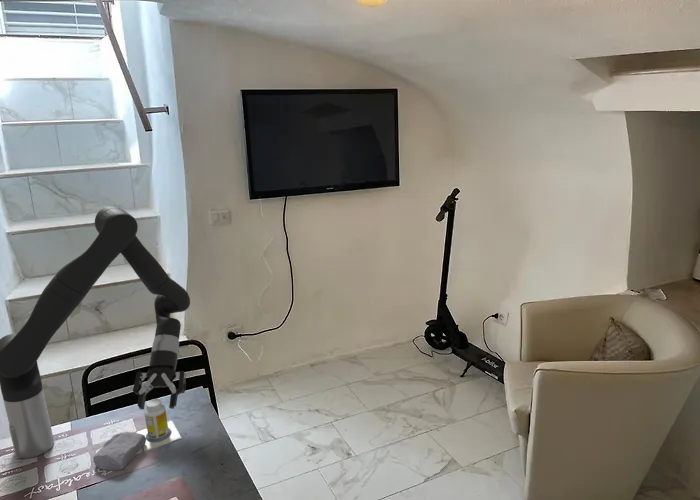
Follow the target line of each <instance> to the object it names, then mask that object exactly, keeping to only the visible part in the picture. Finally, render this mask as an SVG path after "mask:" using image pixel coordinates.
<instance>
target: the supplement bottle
mask: <svg viewBox="0 0 700 500" xmlns="http://www.w3.org/2000/svg"><path fill="white" fill-rule="evenodd" d="M145 406H146V408H145V410H144V418H145V425H146V429H147V432H148V436H149V437H150V438H152V439H159V438H162V437H164V436H165V435H166V434H167V433H168V423H167V422H168V418H167V412H166V407H165V405H163V403H162V400H161V399H160V398H152V399H150V400H148V401H147V402H146V403H145Z"/></svg>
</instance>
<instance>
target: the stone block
mask: <svg viewBox="0 0 700 500" xmlns="http://www.w3.org/2000/svg"><path fill="white" fill-rule="evenodd" d="M145 443H146V437H145V435H143V434H139V433H137V432H131V431H124V432H120V433H117V434H114V435H113V436H112V437H111V438H110V439H109V440H107V441H106V442H105V443H104V444H103V446H102V447H101V448H99V450H98V451H97V452H96V453H95V454H94V455H93V459H92V460H93V463H94V466H95V467H96V468H98V469H101V470H105V471H106V470H111V471H112V470H114V471H115V470H116V471H117V470H118V471H123V470H124V469H125V468H126V467H127V466H128V465H129V463H130V462H131V461H133V459H134V458H135V457H136V456H137V455H138V453H139V452H140V451H141V450H142V449H143V446H144V445H145Z"/></svg>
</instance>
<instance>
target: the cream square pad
mask: <svg viewBox="0 0 700 500" xmlns="http://www.w3.org/2000/svg"><path fill="white" fill-rule="evenodd" d="M167 423H168V433H167V434H166V435H165V436H164V437H162V438H159V439H152V438H150V437H149V436H148V432H147V428H144V429H142V430H138V431H136V433H139V434H143V435H145V437H146V443H145V445H144V446H143V448H142V449H143V450H144V452H147V451H149V450H153V449H155V448H158V447H161V446H165V445H167V444H170V443H173V442H175V441H178V440H180V439H182V436H181V435H180V432H179V431H178V429H177V428H176V425H175V424H174V422H173V420H169V421H168V420H167Z"/></svg>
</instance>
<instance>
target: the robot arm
mask: <svg viewBox="0 0 700 500" xmlns="http://www.w3.org/2000/svg"><path fill="white" fill-rule="evenodd" d="M94 227H95V229H96V231H97V232H98V235H97V236H96V238H95V239H94V240H93V242H92V243H91V244H90V245H89V246H88V247H87V249H86V250H85V251H84V252H83V253H81V254H80V255H78V256H77V257H76V258H75V259H72V260H71V261H69V262H68V263H67V264H65V265H64V266H63V267H61V268H60V269H59V270H58V271H57V272H56V274H55V275H54V276H53V277H52V279H51V280H50V281H49V282H48V284H47V285H46V286H44V287H45V288H44V289H43V291H42V292H41V294H40V295H39V297H38V300H37V301H36V304H35V305H34V307H33V309H32V311H31V313H30V316H29V317H28V320H27V321H26V322H25V324H24V325H23V326H22V328H20V330H19V331H18V332H17V333H10V334H6V335H4V336H2V337H1V338H0V391H1V396H2V399H3V403H4V404H3V405H4V407H5V412H6V417H7V421H8V426H9V433H10V437H11V441H12V446H13V449H14V454H15V458H16V460H19V459H29V458H34V457H37V456H41V455H42V454H45V453H47V452H48V451H49V450H50V449H51V448H52V447H53V446H54V444H55V439H54V434H53V429H52V425H51V424H52V423H51V420H50V416H49V412H48V411H49V410H48V408H47V402H46V401H47V400H46V397H45V392H44V386H43V383H42V379H41V378H42V377H41V374H40V369H39V365H38V359H39V358H40V357H41V355H42V353H43V351H44V350H45V348H46V346H47V345H48V343H50V341H51V339H52V338H53V337H54V335H55V334H56V332H57V331H58V330H59V329H60V328H61V327H62V326H63V324H65V322H66V321H67V320H68V318H69V317H70V316H71V314H73V312H74V311H75V309H77V307H78V306H79V305H80V303H82V301H83V300H84V299H85V297H86V296H87V294H89V292H90V290H91V289H92V288H93V287H94V285H95V284H96V283H97V281H98V280H99V279H100V277H101V276H102V275H103V274H104V272H105V271H106V269H107V268H108V267H109V266H110V264H111V263H112V262H113V261H114V260H115V259H116V258H117V257H118V256H119V255H120V254H121V255H122V256H123V258H124V259H125V260H126V262H127V264H129V266H130V267H131V269H132V270H133V271H134V273H135V274H136V276H137V277H138V278H139V280H140V281H141V282H142V284H143V285H144V286H145V288H146V289H147V290H148V292H149V293H151V294H152V295H156V297H155V299H154V313H155V321H156V327H155V333H154V338H153V342H152V346H151V354H150V359H149V366H148V371H147V372H141V371H137V372H136V374H135V379H134V384H133V388H132V392H133V393H134V394H136V395H138V399H137V407H138V409H140V410H144V409H145V406H146V397H147V396H146V395H148V394H149V392H150V391H152V390H153V389H158V388H163V389H164V388H167V387H168V388H169V390H170V392H171V394H170V399H169V405H168V406H169V409H170V410H174V409H175V407H176V406H177V404H178V403H177V402H178V397H179V395H181V394H184V393H185V392H186V383H187V382H186V381H187V373H186V372H185V371H184V370H180V371H176V369H177V364H178V355H179V350H180V349H179V348H180V347H179V346H180V337H181V329H182V326H181V324H182V323H181V322H180V320H179V319H178V318H177V319H176V318H174V317H171V314H175V313H182V312H185V311H186V310H188V309H189V308H190V304H191V298H190V296H189V293H188V292H187V290H186V289H185V288H184V287H183V286H181V285H180V284H179V283H178V282H176V281H175V280H173V279H172V278H171V277H170V276H169V275H168V273H167V272H166V270H164V268H163V266H162V265H161V264H160V263H159V261H158V260H157V259H156V257H154V255H152V254H151V252H150V251H148V249H147V248H146V247H145V246H144V244H143V243H142V242H141V241H140V239H139V238H138V236H137V234H138V233H137V232H138V222H137V219H135V217H134V216H132V215H131V214H130V213H128V212H127V211H126V210H124V209H122V208H120V207H117V206H112V205H111V206H109V205H108V206H105V207H102V208H101V209H99V211H98V212H97V213H96V215H95V218H94ZM146 378H147V381H146V382H145V383H144V384H143V381H144V380H145V379H146ZM176 378H177V379H178V387H177V388H176V386H175V384H174V383H173V381H174V380H175V379H176ZM142 385H143V387H142Z"/></svg>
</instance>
